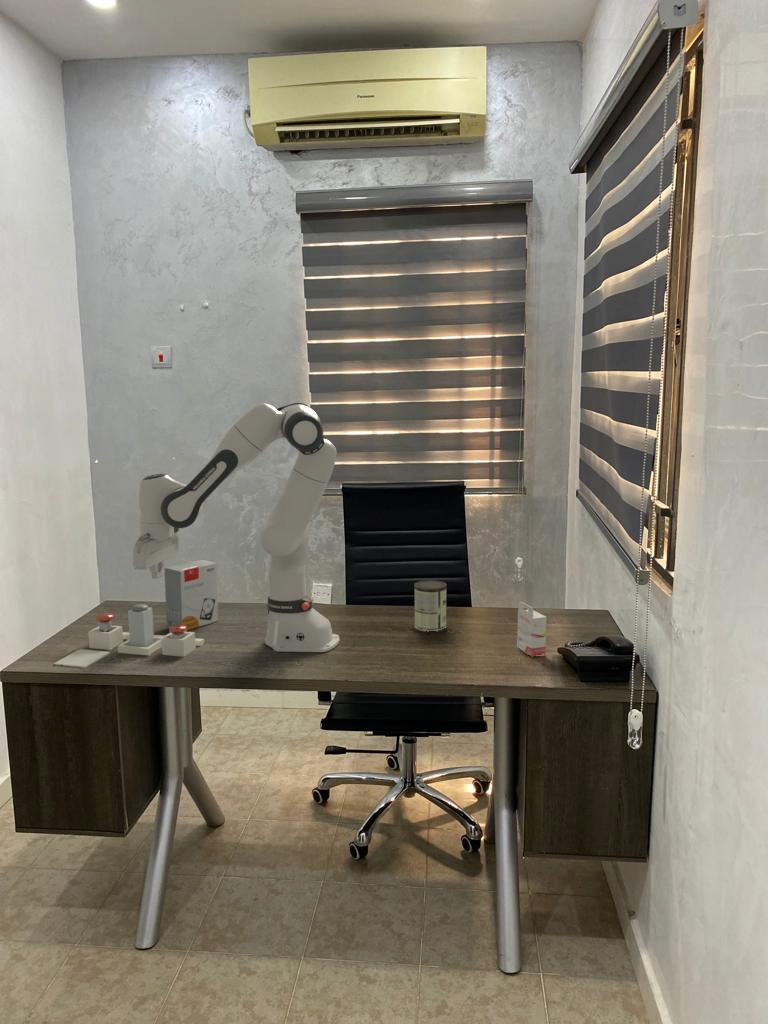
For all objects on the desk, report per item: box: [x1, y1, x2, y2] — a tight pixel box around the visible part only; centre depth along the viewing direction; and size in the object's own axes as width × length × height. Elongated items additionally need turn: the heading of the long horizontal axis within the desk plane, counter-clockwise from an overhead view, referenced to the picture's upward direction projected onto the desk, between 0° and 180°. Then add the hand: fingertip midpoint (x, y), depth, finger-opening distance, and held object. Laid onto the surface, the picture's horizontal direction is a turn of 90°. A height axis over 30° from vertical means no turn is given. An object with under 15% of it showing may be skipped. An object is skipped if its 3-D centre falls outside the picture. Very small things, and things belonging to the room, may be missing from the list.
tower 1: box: [87, 625, 124, 651], centre depth 241 cm, size 7×7×5 cm
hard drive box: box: [163, 559, 219, 631], centre depth 259 cm, size 16×8×20 cm, turn 143°
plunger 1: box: [95, 612, 115, 632], centre depth 241 cm, size 5×5×7 cm
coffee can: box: [413, 579, 448, 632], centre depth 256 cm, size 10×10×14 cm
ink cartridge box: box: [516, 600, 547, 656], centre depth 233 cm, size 9×5×15 cm, turn 21°
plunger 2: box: [168, 624, 188, 639], centre depth 235 cm, size 5×5×7 cm
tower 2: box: [161, 631, 197, 658], centre depth 235 cm, size 7×7×5 cm
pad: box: [53, 648, 111, 669], centre depth 230 cm, size 10×12×1 cm
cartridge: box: [127, 603, 155, 647], centre depth 238 cm, size 5×5×13 cm
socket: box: [117, 631, 205, 656], centre depth 240 cm, size 32×13×2 cm, turn 76°
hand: (157, 577), depth 233 cm, fingers closed
